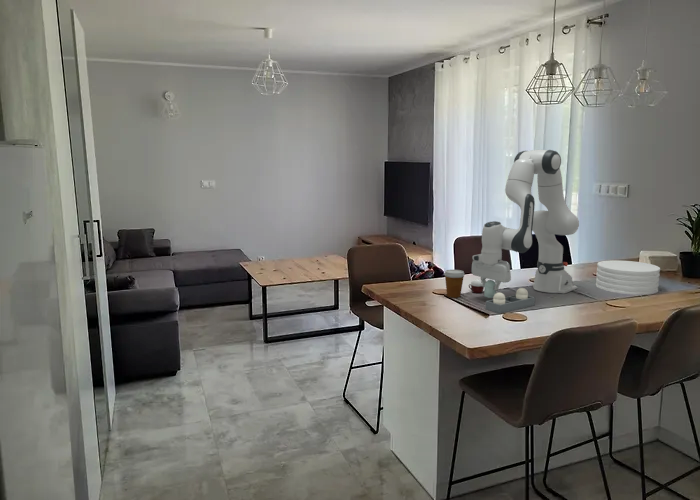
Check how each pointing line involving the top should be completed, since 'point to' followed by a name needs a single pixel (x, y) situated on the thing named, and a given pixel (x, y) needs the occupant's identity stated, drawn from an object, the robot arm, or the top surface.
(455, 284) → the disposable coffee cup
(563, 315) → the top surface
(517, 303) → the egg crate
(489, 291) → the blue egg
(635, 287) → the plate stack
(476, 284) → the cocoa
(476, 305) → the top surface
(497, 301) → the outer cream egg
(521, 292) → the inner cream egg
